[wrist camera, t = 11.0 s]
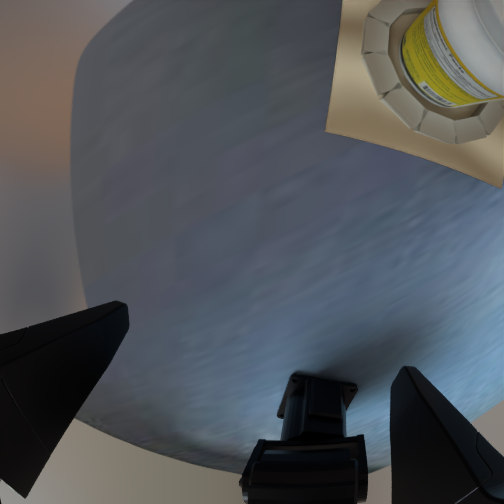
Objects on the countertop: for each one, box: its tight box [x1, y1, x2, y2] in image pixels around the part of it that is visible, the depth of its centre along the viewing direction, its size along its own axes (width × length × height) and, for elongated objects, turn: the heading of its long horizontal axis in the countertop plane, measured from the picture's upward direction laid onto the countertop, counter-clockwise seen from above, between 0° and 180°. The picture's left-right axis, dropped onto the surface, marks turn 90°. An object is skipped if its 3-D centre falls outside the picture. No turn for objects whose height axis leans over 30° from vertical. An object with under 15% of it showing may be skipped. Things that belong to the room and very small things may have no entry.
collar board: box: [325, 0, 504, 188], centre depth 13 cm, size 14×14×2 cm
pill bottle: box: [399, 0, 504, 108], centre depth 8 cm, size 6×6×11 cm
